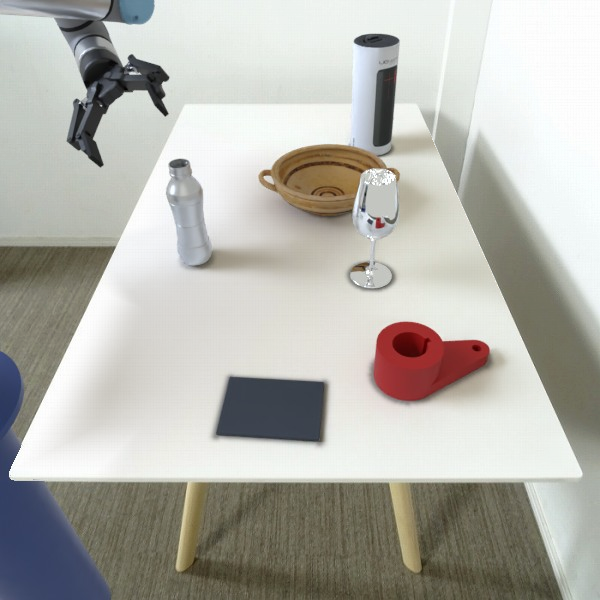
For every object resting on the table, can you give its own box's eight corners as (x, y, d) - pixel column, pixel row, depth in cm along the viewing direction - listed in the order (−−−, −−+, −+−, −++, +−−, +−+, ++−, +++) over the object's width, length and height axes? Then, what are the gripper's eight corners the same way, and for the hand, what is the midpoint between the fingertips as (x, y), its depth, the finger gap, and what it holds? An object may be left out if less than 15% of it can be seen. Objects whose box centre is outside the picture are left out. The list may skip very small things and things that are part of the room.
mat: (216, 434, 75) (215, 432, 74) (230, 378, 82) (229, 376, 82) (319, 441, 73) (319, 439, 73) (323, 383, 81) (323, 381, 81)
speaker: (360, 160, 134) (366, 47, 116) (342, 143, 141) (345, 34, 124) (398, 152, 136) (409, 40, 119) (378, 135, 144) (386, 28, 127)
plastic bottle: (203, 245, 108) (186, 150, 95) (220, 261, 104) (205, 165, 91) (173, 257, 106) (152, 161, 92) (190, 274, 101) (170, 177, 88)
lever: (388, 407, 77) (392, 376, 73) (364, 360, 84) (366, 329, 80) (502, 378, 81) (512, 346, 76) (469, 335, 88) (477, 304, 83)
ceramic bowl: (391, 174, 128) (394, 142, 123) (403, 233, 110) (407, 198, 104) (264, 176, 129) (262, 144, 124) (256, 234, 111) (252, 200, 105)
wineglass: (340, 275, 100) (343, 176, 87) (369, 257, 104) (376, 160, 91) (372, 295, 96) (380, 194, 82) (401, 276, 99) (413, 176, 86)
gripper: (167, 40, 100) (203, 103, 89) (65, 124, 104) (86, 194, 92) (140, 7, 94) (175, 70, 82) (32, 96, 98) (51, 168, 86)
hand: (128, 136), depth 87 cm, fingers open, 13 cm apart
